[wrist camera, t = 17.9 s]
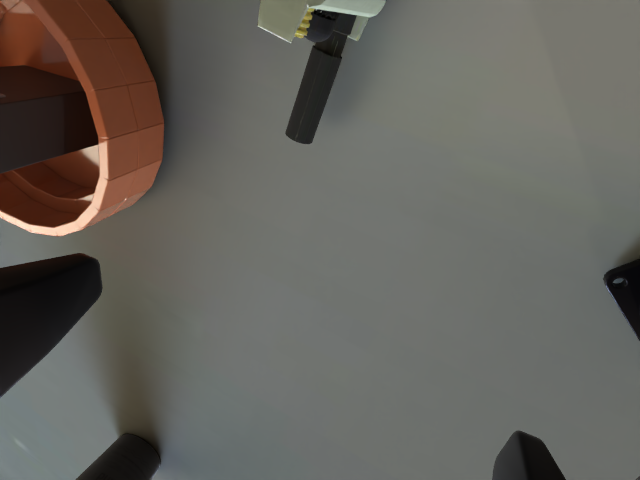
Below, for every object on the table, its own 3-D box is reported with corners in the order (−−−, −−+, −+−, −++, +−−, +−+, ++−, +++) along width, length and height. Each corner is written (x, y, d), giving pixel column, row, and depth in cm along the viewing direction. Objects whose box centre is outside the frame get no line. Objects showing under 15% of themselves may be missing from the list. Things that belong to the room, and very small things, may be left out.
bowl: (214, 129, 22) (157, 150, 18) (100, 239, 28) (41, 271, 25) (36, -105, 19) (-72, -137, 16) (-41, 76, 26) (-129, 84, 22)
